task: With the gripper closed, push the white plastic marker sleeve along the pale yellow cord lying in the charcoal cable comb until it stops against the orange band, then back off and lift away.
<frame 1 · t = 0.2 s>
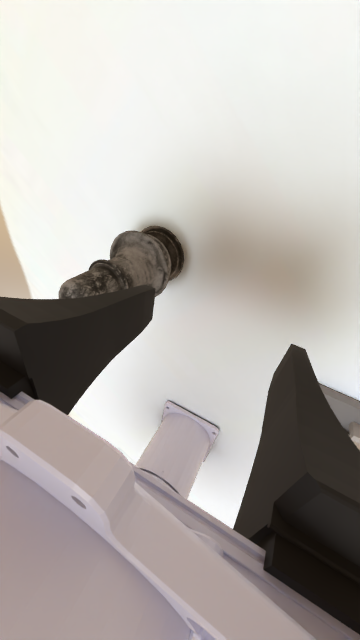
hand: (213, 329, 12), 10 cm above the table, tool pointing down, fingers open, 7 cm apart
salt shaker: (160, 254, 24), on the table
sleeve: (336, 467, 21), point 4 cm above the table, slide at 0.0 cm
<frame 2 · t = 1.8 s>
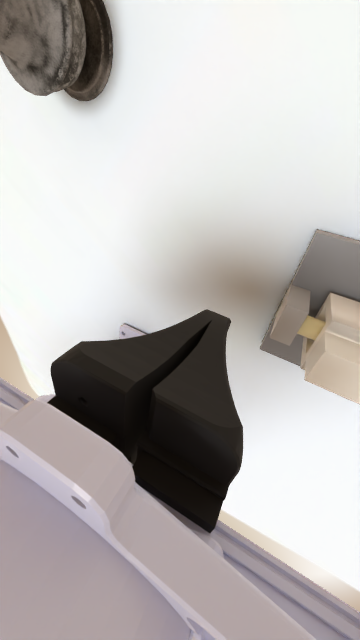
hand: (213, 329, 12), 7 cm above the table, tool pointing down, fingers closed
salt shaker: (81, 46, 15), on the table
sleeve: (354, 352, 13), point 4 cm above the table, slide at 0.0 cm
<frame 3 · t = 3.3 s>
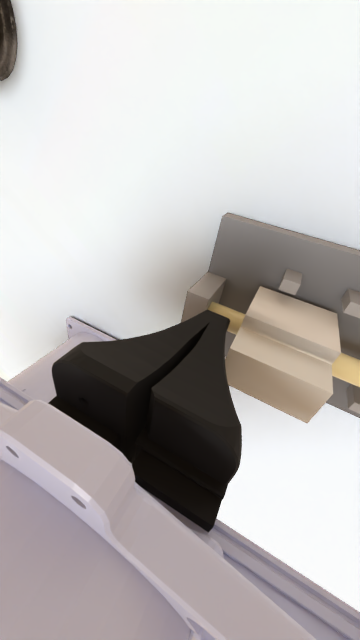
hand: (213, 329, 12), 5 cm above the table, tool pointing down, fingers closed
comb rail: (325, 327, 14), on the table
sleeve: (277, 350, 12), point 4 cm above the table, slide at 1.1 cm, touching gripper
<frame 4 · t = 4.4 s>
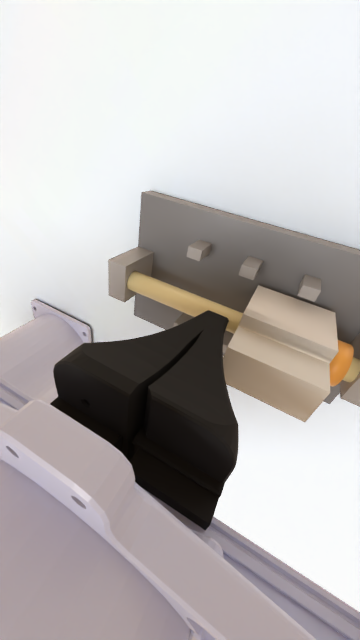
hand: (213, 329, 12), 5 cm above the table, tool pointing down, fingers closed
comb rail: (243, 295, 16), on the table
sleeve: (275, 349, 12), point 4 cm above the table, slide at 6.1 cm, touching gripper
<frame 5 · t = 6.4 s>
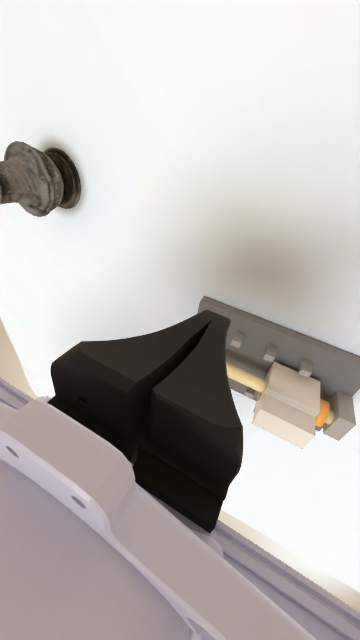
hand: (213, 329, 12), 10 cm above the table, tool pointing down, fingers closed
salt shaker: (61, 179, 25), on the table
comb rail: (263, 361, 24), on the table
sleeve: (285, 404, 21), point 4 cm above the table, slide at 6.1 cm
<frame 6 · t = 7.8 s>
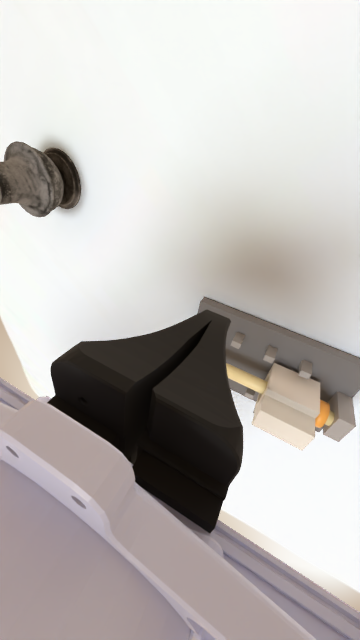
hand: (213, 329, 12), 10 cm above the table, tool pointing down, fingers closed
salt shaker: (62, 180, 25), on the table
comb rail: (263, 362, 24), on the table
sleeve: (285, 405, 21), point 4 cm above the table, slide at 6.1 cm
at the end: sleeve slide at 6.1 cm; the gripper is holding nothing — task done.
